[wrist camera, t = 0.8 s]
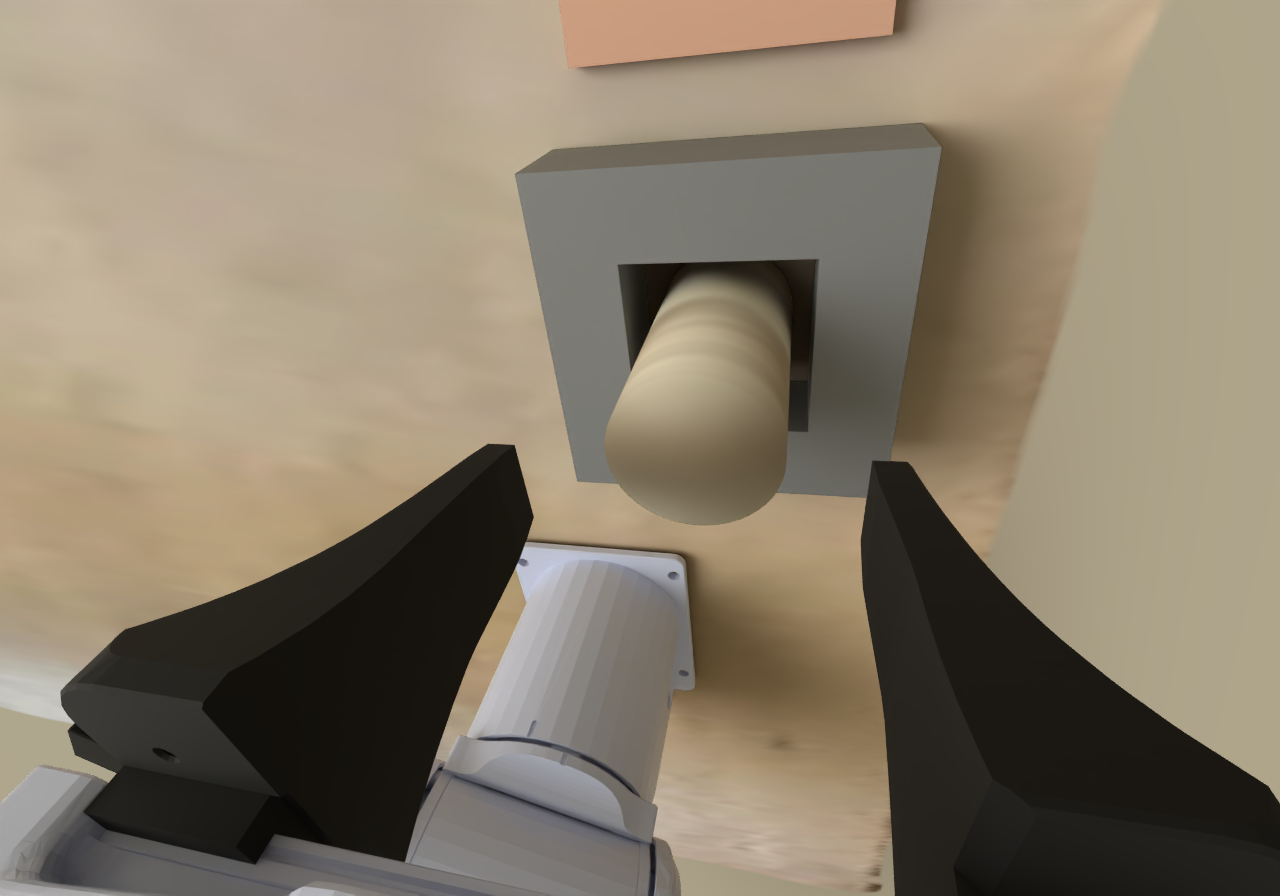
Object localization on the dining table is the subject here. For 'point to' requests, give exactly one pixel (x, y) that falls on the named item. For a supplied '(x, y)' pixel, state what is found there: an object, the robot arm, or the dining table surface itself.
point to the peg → (708, 397)
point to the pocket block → (740, 231)
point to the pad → (710, 26)
